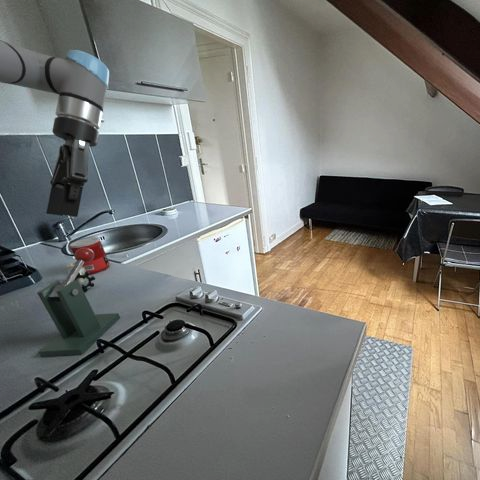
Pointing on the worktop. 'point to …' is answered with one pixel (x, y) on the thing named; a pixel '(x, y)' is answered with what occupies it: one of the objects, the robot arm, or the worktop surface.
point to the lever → (74, 269)
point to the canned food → (100, 258)
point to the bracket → (73, 320)
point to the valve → (82, 276)
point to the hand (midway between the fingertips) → (60, 215)
